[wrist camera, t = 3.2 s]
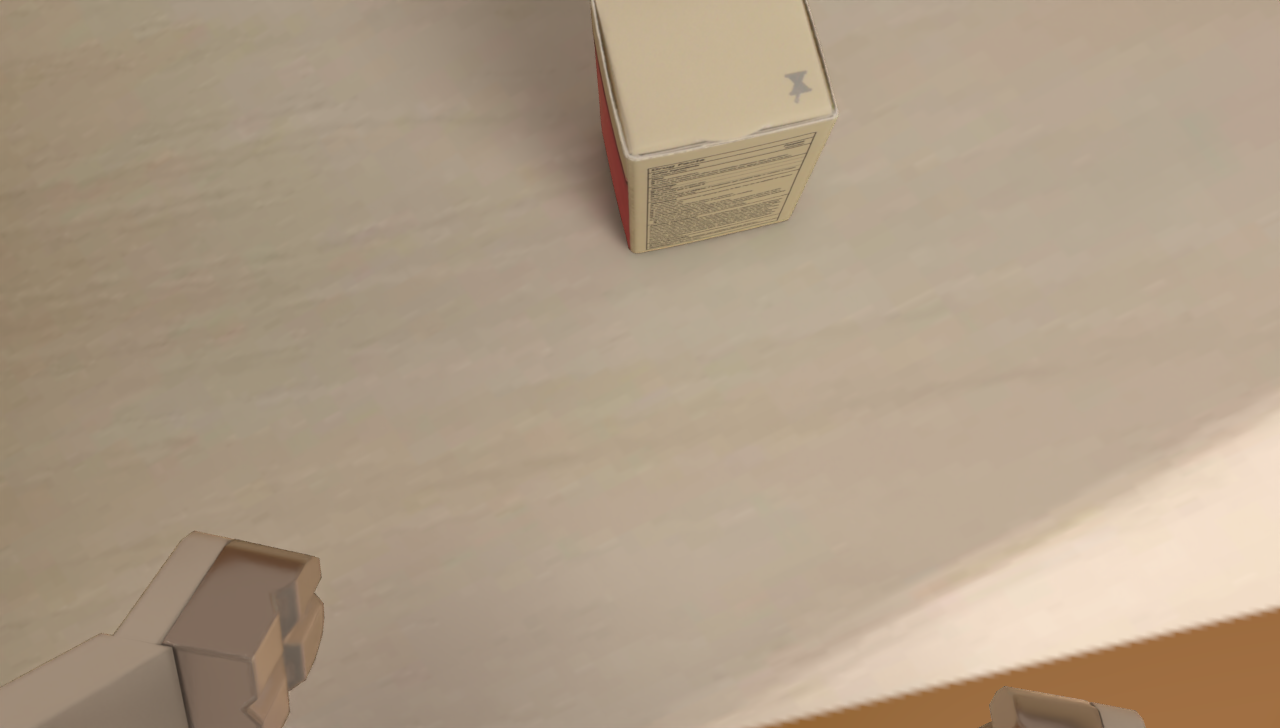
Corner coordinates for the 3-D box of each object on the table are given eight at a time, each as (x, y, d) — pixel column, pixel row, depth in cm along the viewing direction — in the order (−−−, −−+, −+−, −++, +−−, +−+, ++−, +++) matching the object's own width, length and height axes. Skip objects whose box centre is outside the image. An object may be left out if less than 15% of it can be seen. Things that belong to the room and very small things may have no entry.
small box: (757, 92, 31) (798, -57, 24) (792, 223, 31) (845, 115, 23) (596, 126, 31) (583, -13, 23) (627, 259, 30) (625, 162, 23)
